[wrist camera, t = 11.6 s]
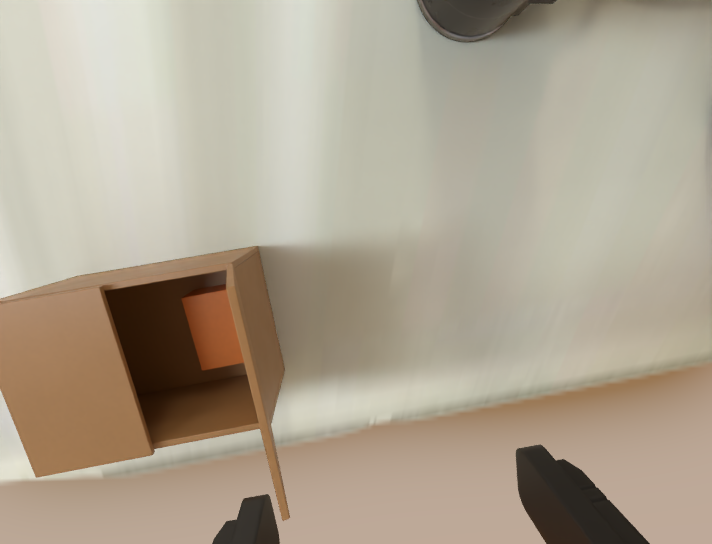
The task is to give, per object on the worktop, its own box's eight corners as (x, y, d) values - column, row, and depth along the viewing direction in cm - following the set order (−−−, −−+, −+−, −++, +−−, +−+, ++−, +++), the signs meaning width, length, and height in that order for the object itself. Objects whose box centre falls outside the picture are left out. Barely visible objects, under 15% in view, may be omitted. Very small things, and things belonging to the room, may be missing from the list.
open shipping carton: (257, 245, 34) (228, 264, 24) (284, 369, 37) (269, 433, 26) (76, 276, 33) (-34, 308, 23) (117, 400, 36) (34, 478, 26)
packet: (193, 289, 34) (180, 298, 31) (240, 280, 34) (232, 288, 31) (212, 357, 35) (201, 371, 32) (257, 348, 35) (251, 361, 32)
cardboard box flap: (226, 265, 24) (232, 263, 24) (266, 432, 27) (272, 430, 27) (225, 287, 16) (234, 285, 16) (282, 521, 19) (290, 518, 19)
